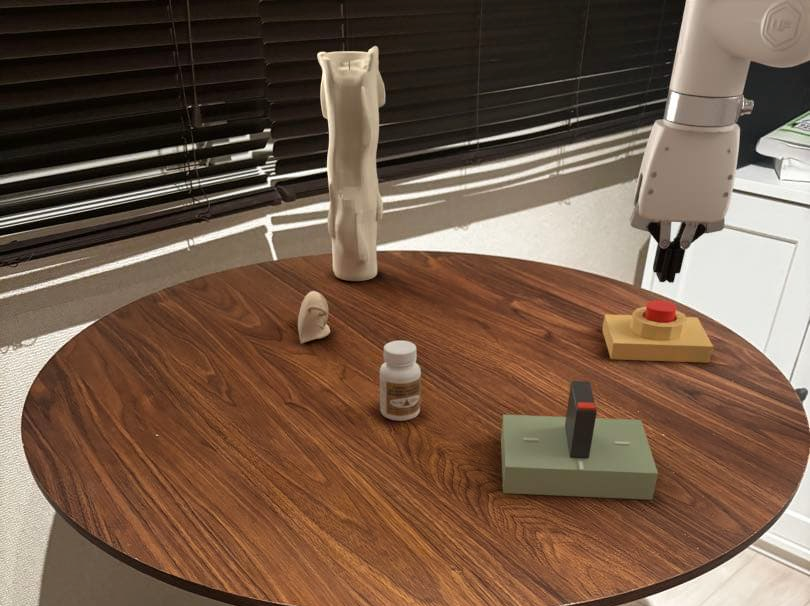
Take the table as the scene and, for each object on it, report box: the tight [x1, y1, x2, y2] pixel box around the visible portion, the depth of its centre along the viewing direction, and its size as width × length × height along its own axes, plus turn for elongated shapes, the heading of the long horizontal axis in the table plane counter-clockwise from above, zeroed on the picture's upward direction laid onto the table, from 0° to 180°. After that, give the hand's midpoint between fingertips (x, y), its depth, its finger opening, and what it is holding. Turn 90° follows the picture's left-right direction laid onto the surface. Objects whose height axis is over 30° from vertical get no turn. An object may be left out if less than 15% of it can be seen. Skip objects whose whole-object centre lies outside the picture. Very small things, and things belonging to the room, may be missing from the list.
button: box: [645, 300, 678, 323], centre depth 101 cm, size 4×4×2 cm
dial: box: [565, 380, 598, 458], centre depth 77 cm, size 6×2×5 cm, turn 176°
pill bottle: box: [379, 340, 422, 422], centre depth 87 cm, size 4×4×8 cm
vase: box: [316, 45, 386, 282], centre depth 114 cm, size 9×8×30 cm
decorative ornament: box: [297, 290, 331, 344], centre depth 104 cm, size 4×8×5 cm, turn 7°
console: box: [500, 414, 659, 501], centre depth 80 cm, size 14×10×3 cm
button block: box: [601, 305, 714, 364], centre depth 102 cm, size 12×9×4 cm
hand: (664, 278), depth 98 cm, fingers closed
